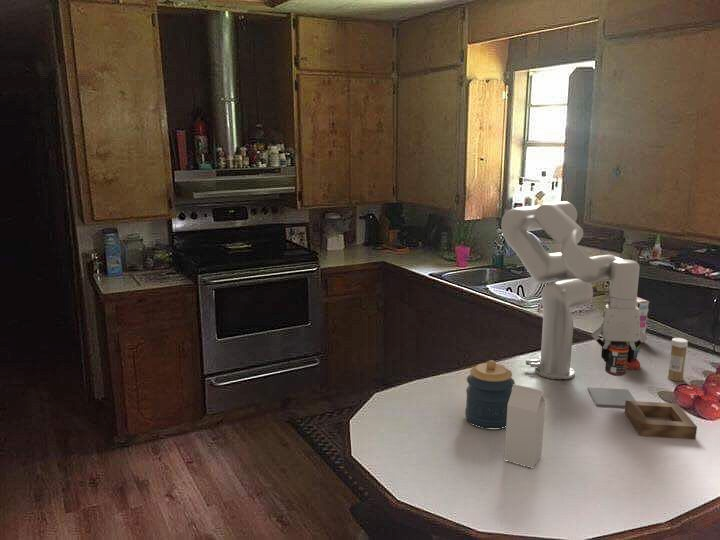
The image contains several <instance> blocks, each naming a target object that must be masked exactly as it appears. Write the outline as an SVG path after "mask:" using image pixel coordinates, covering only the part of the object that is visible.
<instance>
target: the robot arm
mask: <svg viewBox="0 0 720 540" xmlns="http://www.w3.org/2000/svg"><path fill="white" fill-rule="evenodd" d="M577 220H578V211H577V209H576V207H575V205H574V204H572V203H571V202H569V201H566V200H563V201H551V202H550V201H549V202H545V203H542V204H541V205H540V204H539V205H531V206H518V207H513V208H511V209H508V210H507V211H506V212H505V213H504V214H503V216H502V218H501V222H500V223H501V233H502V235H503V239H504V240H505V242H506V243H507V245H508V246H509V247H510V248H511V249H512V251H514V253H515V254H516V255H517V257H518V258H519V260H520V261H521V263H522V264H523V266H524V268H525V269H526V271H527V272H528V273H529V275H530V277H531V278H532V279H533V280H534V281H535V282H536V283H538V284H545V286H544V287H543V288H542V290H541V304H542V317H543V318H542V329H541V331H542V333H541V346H540V347H541V348H540V355H539V356H538V358H535V359H531V358H525V365H526V366H529V365H530V367H531V368H534V372H535V373H536V374H537V375H538V374H539V376H540V375H541V376H540V377H542V376H543V378H545V377H546V379H549V378H551V379H550V380H555V379H565V380H570V379H572V378H573V377H574V376H575V369H573V368H572V367H571V360H572V349H573V338H574V337H573V334H574V318H573V316H572V313H571V310H570V309H572V308H573V309H574V308H576V307H581V306H582V307H583V306H585V305H587V304H589V303H590V302H591V301H592V300H593V296H594V289H593V287H592V283H597V282H598V283H599V282H603V281H604V282H605V281H609V288H608V289H609V291H608V295H607V297H603V299H602V302H603V303H605V304H606V305H605V306H604V310H603V313H602V318H601V323H600V327H598V328H597V329H596V330H595V331H593V332H592V333H591V337H592V338H593V340H594V341H596V342H597V344H598V345H600V346H601V355H600V356H601V358H602V359H603V361H604V363H606V362H607V361H608V354H609V349H608V345H609V343H610V341H615V342H628V344H629V353H628V362H629V363H631V361H632V359H633V357H634V350H635V349H636V348H637V347H638V346H639V345H640V346H641V345H642V344H643V343H642V342H644V341H645V342H646V340H647V339H648V337H647V335H646V336H645V335H644V334H643V333H642V331H641V330H640V313H639V308H638V307H636V301H637V297H638V289H639V288H638V287H639V278H640V264H639V263H638V262H637V261H636V260H633V259H625V258H624V259H623V258H621V257H618V256H616V255H614V254H603V255H595V256H588V255H587V254H586V253H585V252H584V251H583V250H581V248H579V246H578V244H579V243H580V241H581V240H582V238H583V237H584V230H583V228H582V227H581V226H580V225H579V224H578V223H577V222H576V221H577ZM542 230H543V231H544V232H545V233H546V234H547V235H548V236H549V237H550V238H552V240H553V241H554V242H555V243H556V244H557V245H558V246H559V247H560V252H547V250H546V249H545V248H544V247H543V245H542V244H541V242H540V241H539V240H538V239H537V238H536V237H535V236H533V235H531V234H530V233H529V232H532V231H534V232H535V231H542ZM599 336H601V337H602V339H601V338H600V337H599Z"/></svg>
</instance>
